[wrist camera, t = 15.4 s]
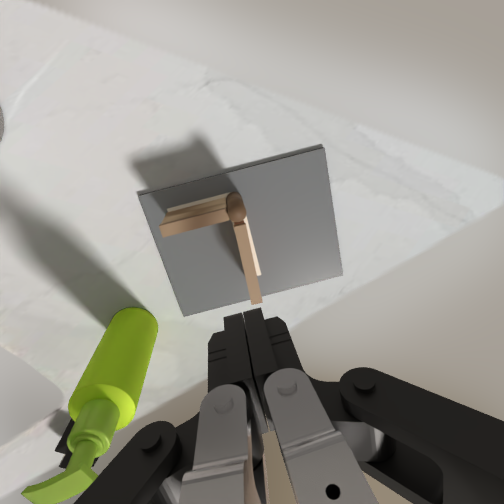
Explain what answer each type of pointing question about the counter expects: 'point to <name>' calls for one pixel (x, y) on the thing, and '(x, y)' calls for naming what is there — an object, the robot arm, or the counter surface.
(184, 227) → the fixed fence section
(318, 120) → the counter surface
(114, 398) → the soap dispenser
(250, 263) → the hinged fence section
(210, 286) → the card
